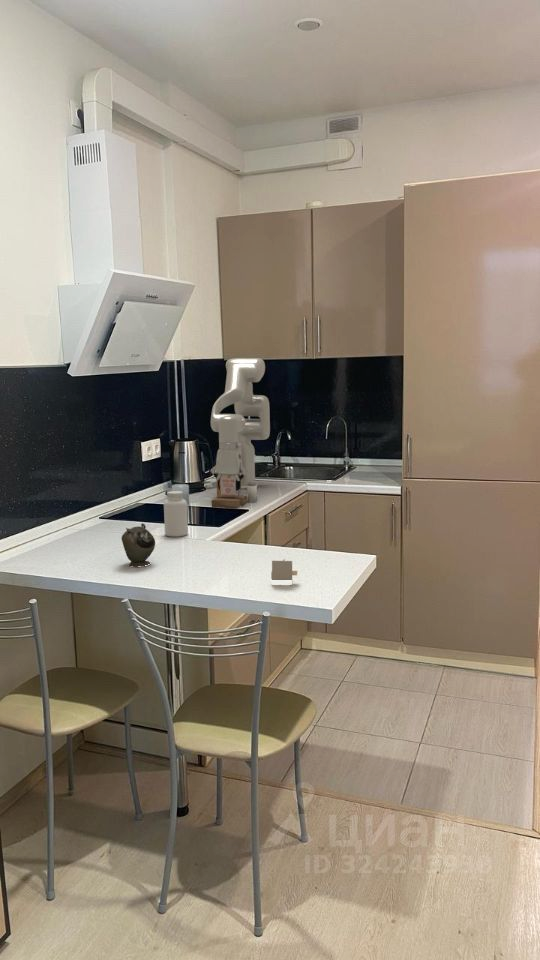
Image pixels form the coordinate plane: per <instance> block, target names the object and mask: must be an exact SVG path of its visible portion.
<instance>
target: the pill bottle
mask: <svg viewBox="0 0 540 960" xmlns="http://www.w3.org/2000/svg"><path fill="white" fill-rule="evenodd" d="M166 495H167V496H168V497H167V496H166V499H165V501H164V503H163V513H164V514H163V516H164V519H163V520H164V521H163V522H164V534H165V536H168V537H173V538H176V537H178V538H179V537H183V536H186V535H188V533H189V525H188V505H187V502H186V501H185V500H184V499H182V498H183V492H182V491H170V492H168V493H167V492H166ZM167 498H168V499H167Z"/></svg>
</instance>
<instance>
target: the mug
mask: <svg viewBox="0 0 540 960" xmlns="http://www.w3.org/2000/svg"><path fill="white" fill-rule="evenodd" d="M170 491H182V492H183V498H182V499H184V500H185V501H186V502H187V506H189V505H190V486H189V484H186V483H175V484H172V485H171V488H166V494H167V493H168V492H170ZM167 497H168V496H166V500H168V498H167Z"/></svg>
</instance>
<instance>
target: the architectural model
mask: <svg viewBox="0 0 540 960" xmlns="http://www.w3.org/2000/svg"><path fill="white" fill-rule="evenodd" d="M270 573H271V579H272V580H292V581H293V576H298V570H293V560H286V559H285V558H284V559H283V560H271V572H270Z"/></svg>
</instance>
